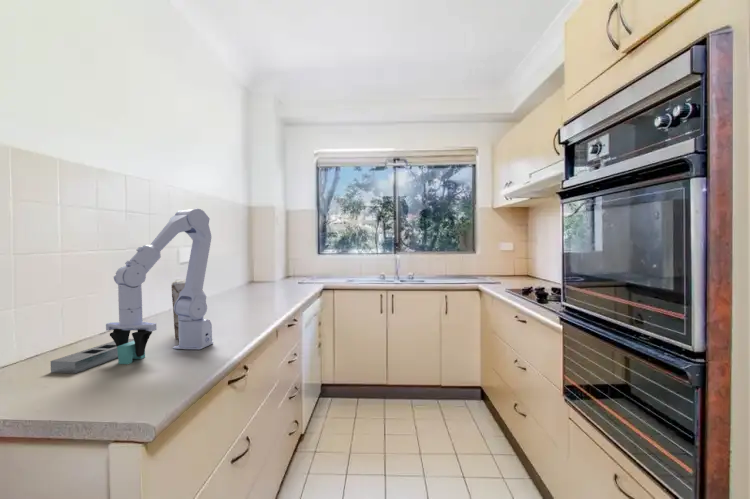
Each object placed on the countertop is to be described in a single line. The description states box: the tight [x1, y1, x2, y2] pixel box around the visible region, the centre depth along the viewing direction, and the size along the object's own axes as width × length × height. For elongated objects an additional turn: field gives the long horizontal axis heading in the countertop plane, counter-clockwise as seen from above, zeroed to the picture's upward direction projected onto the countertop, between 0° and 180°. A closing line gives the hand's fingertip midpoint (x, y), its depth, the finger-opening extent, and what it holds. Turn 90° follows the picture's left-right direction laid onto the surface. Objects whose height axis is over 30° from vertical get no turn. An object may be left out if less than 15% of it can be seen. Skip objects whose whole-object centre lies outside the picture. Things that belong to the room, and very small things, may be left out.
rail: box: [50, 338, 134, 374], centre depth 116 cm, size 7×24×3 cm, turn 171°
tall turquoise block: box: [117, 341, 146, 365], centre depth 115 cm, size 7×3×5 cm, turn 171°
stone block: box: [171, 278, 186, 340], centre depth 145 cm, size 13×7×20 cm, turn 25°
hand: (131, 355), depth 115 cm, fingers open, 5 cm apart
